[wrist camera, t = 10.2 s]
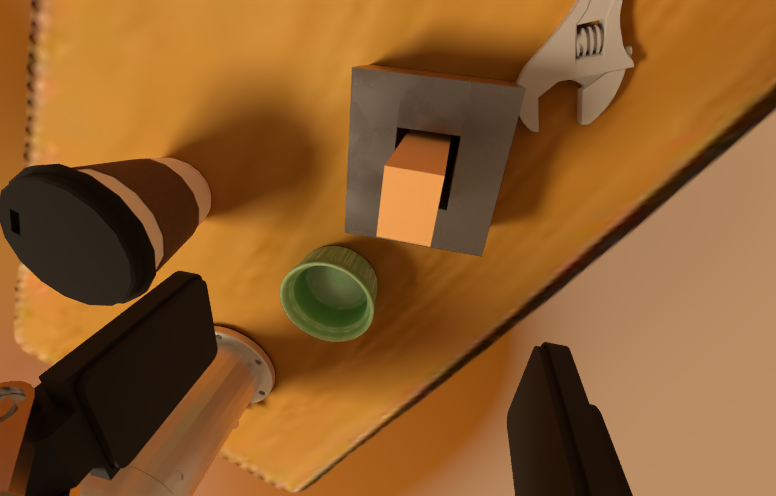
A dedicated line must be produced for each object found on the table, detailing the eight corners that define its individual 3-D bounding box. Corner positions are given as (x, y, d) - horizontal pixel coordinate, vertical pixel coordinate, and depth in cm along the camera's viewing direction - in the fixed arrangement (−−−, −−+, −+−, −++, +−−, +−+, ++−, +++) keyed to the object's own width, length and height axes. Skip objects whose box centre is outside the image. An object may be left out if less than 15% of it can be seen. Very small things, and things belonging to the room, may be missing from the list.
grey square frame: (479, 228, 31) (481, 256, 27) (360, 208, 33) (344, 232, 28) (516, 81, 26) (526, 88, 21) (370, 64, 27) (352, 67, 23)
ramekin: (292, 298, 39) (274, 324, 36) (304, 227, 35) (285, 249, 31) (371, 324, 39) (361, 354, 35) (393, 256, 35) (384, 282, 31)
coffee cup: (125, 206, 38) (-5, 266, 27) (137, 108, 32) (-20, 136, 22) (221, 258, 38) (131, 334, 28) (248, 170, 33) (149, 226, 23)
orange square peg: (452, 129, 28) (444, 176, 18) (442, 178, 30) (430, 246, 20) (414, 123, 28) (384, 165, 18) (406, 172, 30) (376, 236, 20)
